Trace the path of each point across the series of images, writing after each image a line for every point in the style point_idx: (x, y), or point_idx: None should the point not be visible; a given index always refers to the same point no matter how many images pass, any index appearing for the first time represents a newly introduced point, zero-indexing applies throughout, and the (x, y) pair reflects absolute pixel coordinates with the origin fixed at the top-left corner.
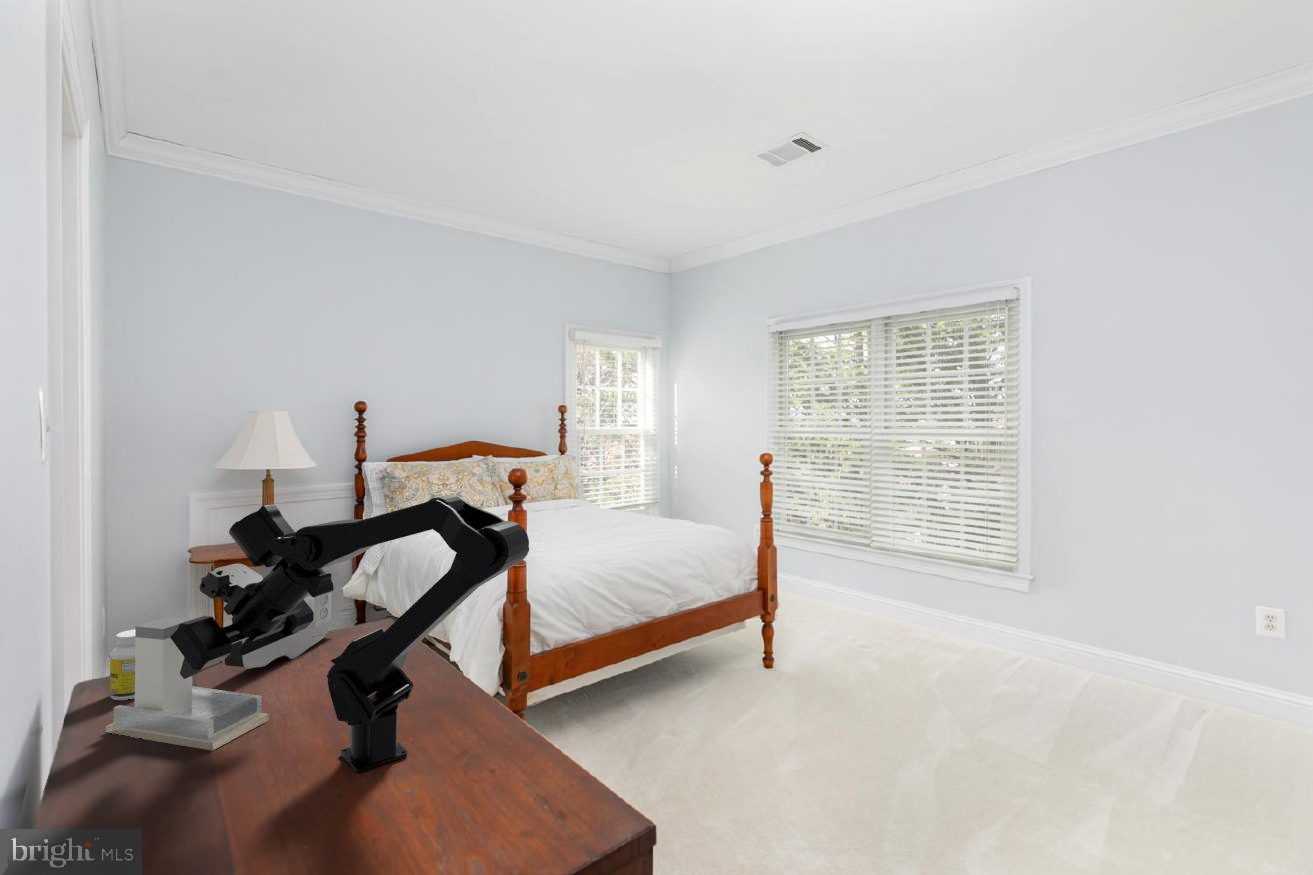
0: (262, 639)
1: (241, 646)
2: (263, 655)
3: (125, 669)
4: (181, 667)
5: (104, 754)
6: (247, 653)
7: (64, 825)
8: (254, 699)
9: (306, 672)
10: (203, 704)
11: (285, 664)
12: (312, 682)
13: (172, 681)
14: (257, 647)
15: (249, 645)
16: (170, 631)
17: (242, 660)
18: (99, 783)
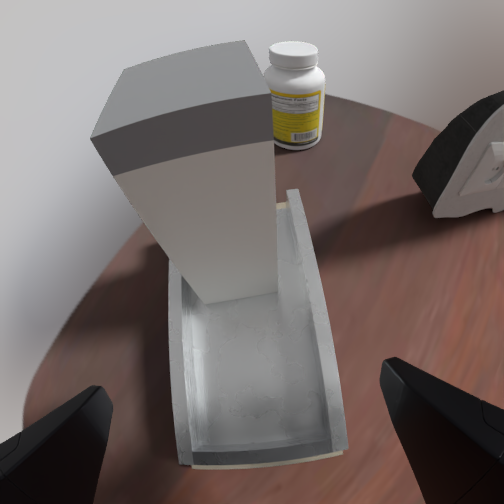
0: (435, 479)
1: (393, 371)
2: (469, 204)
3: (272, 104)
4: (68, 402)
5: (130, 296)
6: (387, 405)
7: (24, 419)
8: (324, 453)
9: (496, 284)
10: (301, 296)
11: (484, 221)
12: (485, 340)
13: (209, 264)
14: (410, 453)
15: (404, 417)
16: (133, 146)
17: (435, 202)
18: (74, 377)
